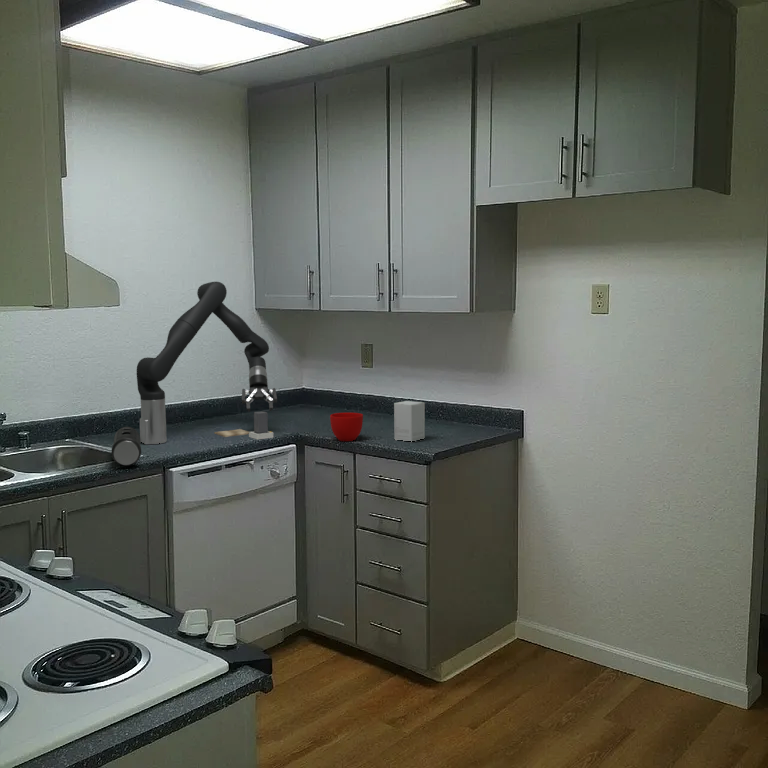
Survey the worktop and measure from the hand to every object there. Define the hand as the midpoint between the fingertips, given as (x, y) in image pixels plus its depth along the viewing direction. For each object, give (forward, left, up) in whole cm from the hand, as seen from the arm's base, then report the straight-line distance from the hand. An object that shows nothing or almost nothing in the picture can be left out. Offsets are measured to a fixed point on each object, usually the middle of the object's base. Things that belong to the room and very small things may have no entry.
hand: (259, 410), depth 332 cm
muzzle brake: (-60, -16, -11) cm, 63 cm away
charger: (-2, -5, -10) cm, 12 cm away
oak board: (-8, +9, -11) cm, 16 cm away
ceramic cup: (+25, -28, -11) cm, 39 cm away
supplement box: (+43, -44, -11) cm, 62 cm away
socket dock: (-2, -5, -11) cm, 12 cm away
